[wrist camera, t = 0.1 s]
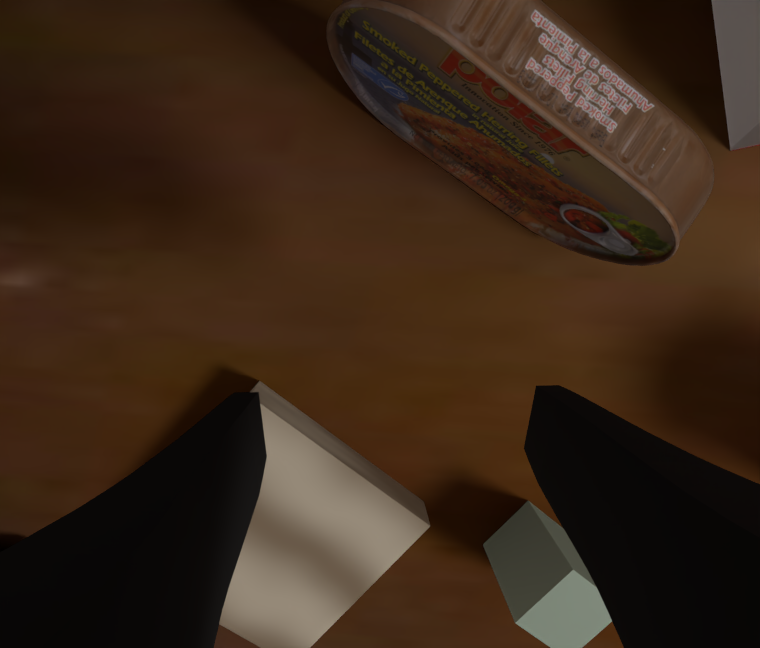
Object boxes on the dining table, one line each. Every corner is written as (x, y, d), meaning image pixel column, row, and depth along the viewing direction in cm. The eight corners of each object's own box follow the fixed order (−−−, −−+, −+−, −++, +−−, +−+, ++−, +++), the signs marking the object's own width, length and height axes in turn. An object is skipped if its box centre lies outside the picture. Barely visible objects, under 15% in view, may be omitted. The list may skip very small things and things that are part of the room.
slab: (298, 623, 25) (292, 665, 23) (135, 526, 23) (109, 561, 20) (422, 495, 24) (430, 526, 21) (261, 377, 21) (249, 395, 19)
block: (526, 576, 25) (568, 659, 20) (482, 544, 24) (515, 622, 19) (570, 534, 24) (625, 609, 19) (527, 500, 24) (573, 569, 19)
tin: (328, 87, 18) (307, -38, 10) (365, 21, 17) (375, -171, 9) (575, 264, 20) (724, 286, 12) (613, 212, 20) (794, 198, 12)
